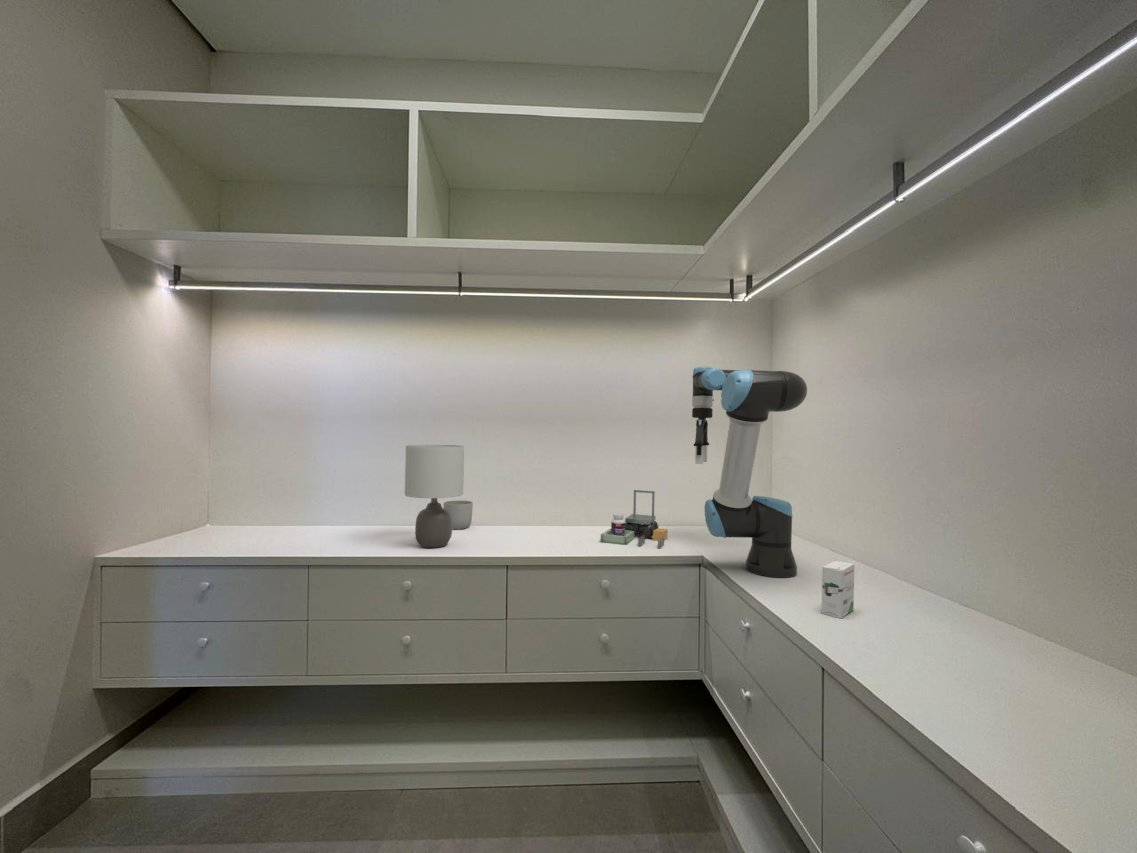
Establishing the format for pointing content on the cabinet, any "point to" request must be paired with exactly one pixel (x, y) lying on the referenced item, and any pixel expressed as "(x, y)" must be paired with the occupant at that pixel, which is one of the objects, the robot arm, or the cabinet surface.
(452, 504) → the planter
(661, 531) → the block
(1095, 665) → the cabinet surface
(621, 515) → the pill bottle
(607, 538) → the tray
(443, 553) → the cabinet surface
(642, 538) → the pin bracket
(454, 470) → the lamp
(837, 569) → the ink box
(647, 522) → the trolley
